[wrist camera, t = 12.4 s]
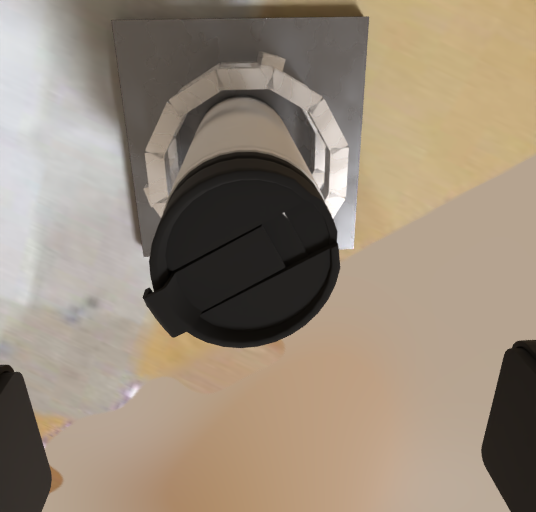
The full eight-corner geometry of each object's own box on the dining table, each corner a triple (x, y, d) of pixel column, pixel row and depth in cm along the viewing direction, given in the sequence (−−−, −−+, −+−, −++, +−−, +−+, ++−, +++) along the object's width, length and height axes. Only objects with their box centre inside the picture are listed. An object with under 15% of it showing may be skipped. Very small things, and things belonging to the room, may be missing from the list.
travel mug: (174, 126, 32) (92, 243, 14) (261, 77, 31) (294, 134, 13) (221, 204, 35) (203, 389, 16) (302, 161, 34) (379, 307, 15)
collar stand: (116, 20, 30) (74, 14, 22) (364, 17, 31) (407, 10, 23) (146, 250, 37) (122, 307, 29) (350, 242, 38) (379, 296, 30)
